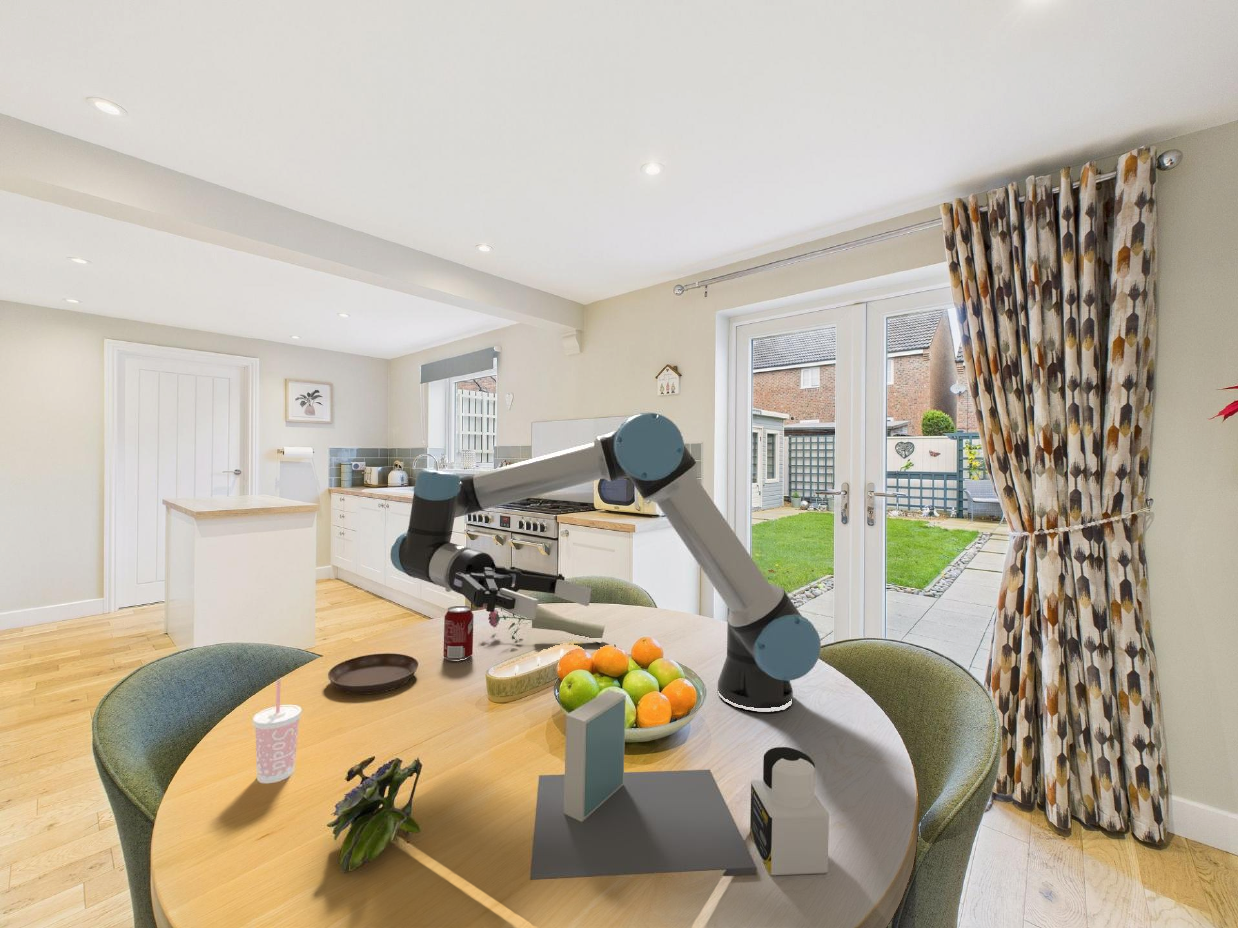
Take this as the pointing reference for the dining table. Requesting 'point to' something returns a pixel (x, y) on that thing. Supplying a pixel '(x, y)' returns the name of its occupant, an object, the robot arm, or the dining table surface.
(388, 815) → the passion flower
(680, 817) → the mat
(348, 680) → the plant saucer
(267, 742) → the beverage cup
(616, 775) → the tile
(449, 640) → the soda can
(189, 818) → the dining table surface
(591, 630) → the flower vase
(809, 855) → the medicine bottle
